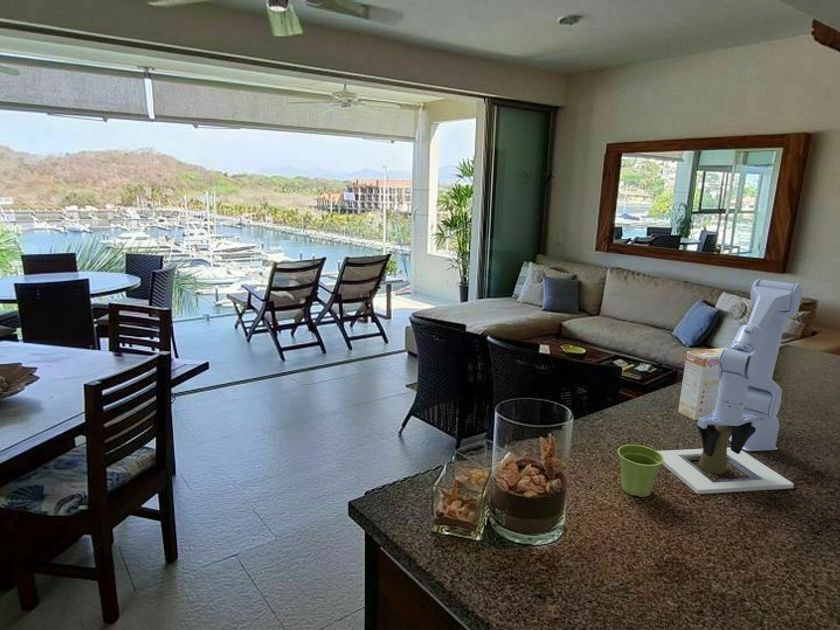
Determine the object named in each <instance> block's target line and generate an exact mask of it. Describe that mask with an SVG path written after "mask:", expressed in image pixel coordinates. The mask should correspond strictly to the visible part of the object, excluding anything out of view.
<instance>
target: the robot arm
mask: <svg viewBox="0 0 840 630" xmlns="http://www.w3.org/2000/svg"><path fill="white" fill-rule="evenodd" d="M802 296H803V287H802V286H801V284H800V283H790V282H784V281H775V280H769V279H768V280H766V279H762V278H757V279H756V280H755V281H754V282H753V284H752V286H751V290H750V300H751V305H752V306H753V308H752V311H751V314H750V316H749V319H748V322H747V324H744V325H741V326H740V327H739V328H738V330H737V332H736V334H735V336H734V337H733V340H732V342H731V344H730V346H729V347H728V349H727V350H726V349H725V350H723V352H722V353H721V356H720V359H719V375H718V377H719V379H720V383H719V389H718V395H717V401H716V406H715V411H712V414H710V415H707V416H705V417H699V418H698V420H697V423H696V427H697V430H698V432H699V434H700V438H701V441H702V442H701V443H702V449H703V451H704V453H705V454H706V455H708V456H712V455H713V453H714V449H715V445H716V442H717V440H718V438H719V436H720V435H721V433H720V432H718V431H717V430H716V428H715V426H730V427H731V436H730V438H729V440H728V441H729V442H730V447H731V450H732V451H733V452H735V453H736V454H740V452H741V450H742V451H743V450H744V452H756V451H757V452H759V451H777V450H778V449H779V448H778V447H777V440H778V434H779V430H780V421H779V418H778V417H777V415H778V413H779V411H780V407H781V403H782V393H783V391H782V388H781V386H780V385H779V384H778V383H777V382H776V381H775V380H774V379H773V376H774V371H775V366H776V363H777V358H778V355H779V350H780V346H781V343H782V338H783V335H784V329H785V324H786V323H787V320H788V319H789V318H792V317H796V316H797V314H798V313H799V309H800V306H801V301H802Z"/></svg>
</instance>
